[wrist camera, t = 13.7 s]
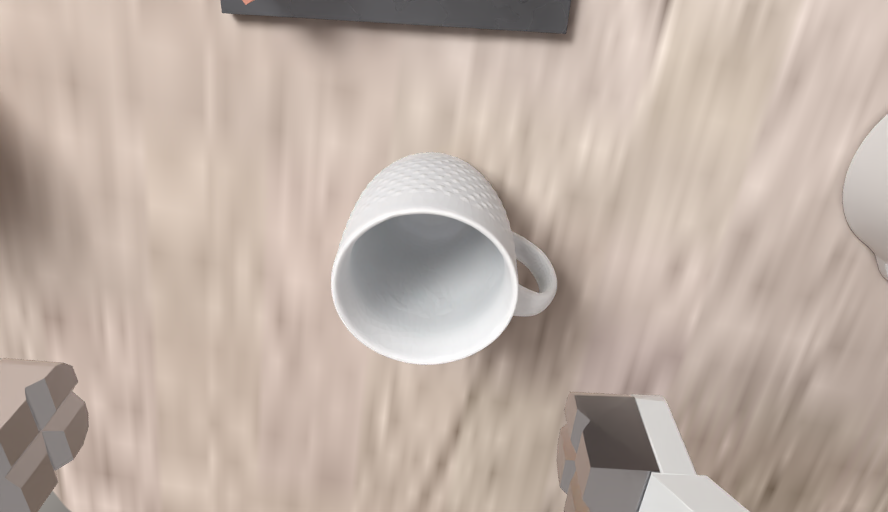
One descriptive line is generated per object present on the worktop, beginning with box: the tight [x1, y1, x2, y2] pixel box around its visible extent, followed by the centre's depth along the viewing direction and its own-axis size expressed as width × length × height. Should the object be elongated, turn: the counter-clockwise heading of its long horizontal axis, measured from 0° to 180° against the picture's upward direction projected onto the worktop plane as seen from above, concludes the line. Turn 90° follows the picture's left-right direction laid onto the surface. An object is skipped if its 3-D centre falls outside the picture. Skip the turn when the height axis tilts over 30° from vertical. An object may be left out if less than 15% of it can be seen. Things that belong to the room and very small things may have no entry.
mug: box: [331, 152, 557, 365], centre depth 42 cm, size 15×11×13 cm
